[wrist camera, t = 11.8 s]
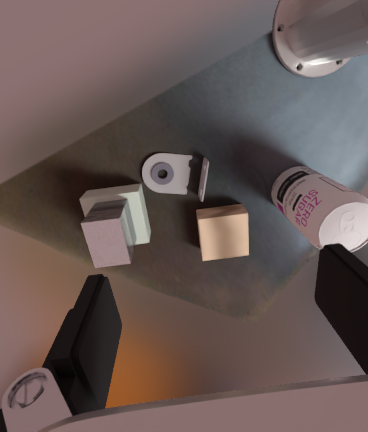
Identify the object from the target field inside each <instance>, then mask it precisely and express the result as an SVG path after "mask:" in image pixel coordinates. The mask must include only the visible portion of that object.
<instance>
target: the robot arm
mask: <svg viewBox="0 0 368 432" xmlns="http://www.w3.org/2000/svg"><path fill="white" fill-rule="evenodd" d="M277 28H280V31H278V29H277ZM272 36H273V44H274V48H275V51H276V54H277V56H278V58H279V60H280V62H281V63H282V64H283V65H284V67H285V68H286V69H288V70H289V71H290V72H291V73H293V74H295V75H298V76H301V77H306V78H314V77H321V76H325V75H327V74H330V73H332V72H334V71H336V70H338V69H339V68H341V67H342V66H343V65H344V64H346V63H347V62H348V61H349V60H350V59H351V57H356V56H360V55H365V54H368V0H279V2H278V5H277V8H276V10H275V14H274V19H273V28H272ZM336 61H337V64H336ZM297 66H298V69H296V67H297ZM315 301H316V304H317V305H318V307H319V308H320V310H321V311H322V312H323V314H324V315H325V317H326V318H327V319H328V321H329V322H330V324H331V325H332V327H333V328H334V330H335V331H336V332H337V334H338V335H339V337H340V338H341V339H342V341H343V342H344V344H345V345H346V347H347V348H348V349H349V351H350V352H351V354H352V355H353V356H354V358H355V359H356V361H357V362H358V364H359V365H360V366H361V368H362V369H363V371H364V372H365V373H366V375H360V376H351V377H343V378H335V379H326V380H317V381H309V382H301V383H293V384H285V385H277V386H269V387H261V388H253V389H245V390H237V391H229V392H222V393H213V394H206V395H198V396H191V397H183V398H176V399H168V400H160V401H154V402H146V403H139V404H132V405H126V406H119V407H113V408H106V409H105V406H106V401H107V396H108V392H109V387H110V383H111V377H112V373H113V368H114V363H115V359H116V354H117V349H118V344H119V339H120V335H121V329H122V323H121V319H120V315H119V312H118V309H117V306H116V302H115V299H114V296H113V292H112V289H111V286H110V283H109V279H108V277H104V276H103V274H97V275H90V276H88V277H87V280H86V282H85V284H84V286H83V288H82V291H81V293H80V295H79V297H78V299H77V301H76V303H75V306H74V308H73V309H70V310H69V312H68V313H67V315H66V317H65V319H64V321H63V324H62V326H61V328H60V330H59V332H58V334H57V336H56V338H55V341H54V343H53V345H52V347H51V349H50V351H49V353H48V355H47V357H46V359H45V361H44V364H43V366H42V368H35V369H32V370H29V371H27V372H26V373H24V374H22V375H21V376H20V377H18V378H17V379H16V380H15V381H14V382H13V383H12V384H11V385H10V386H9V388H8V389H7V391H6V392H5V394H4V396H3V399H2V408H1V409H0V432H368V267H367V266H366V265H365V264H364V263H363V262H361V261H360V260H359V259H358V258H357V257H356V256H355V255H353V254H352V253H351V252H350V251H349V250H348V249H346V248H345V247H344V246H343V245H342V244H340V243H335V244H328V245H324V247H323V249H321V250H320V254H319V262H318V271H317V280H316V288H315Z"/></svg>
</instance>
